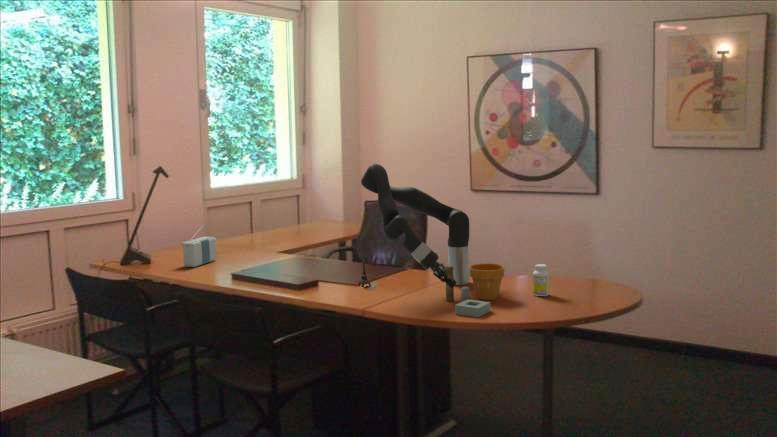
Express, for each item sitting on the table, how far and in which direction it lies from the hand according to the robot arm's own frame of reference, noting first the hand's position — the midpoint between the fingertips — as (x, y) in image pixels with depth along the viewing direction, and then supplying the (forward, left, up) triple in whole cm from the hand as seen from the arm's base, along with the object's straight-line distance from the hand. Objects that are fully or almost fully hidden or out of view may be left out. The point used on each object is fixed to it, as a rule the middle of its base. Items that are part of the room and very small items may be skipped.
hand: (454, 285), depth 306 cm
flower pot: (-11, +9, -7) cm, 16 cm away
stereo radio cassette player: (-3, -157, -7) cm, 157 cm away
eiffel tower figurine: (-4, -48, -7) cm, 49 cm away
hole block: (+13, +15, -6) cm, 21 cm away
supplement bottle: (-25, +27, -7) cm, 38 cm away
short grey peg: (+4, +7, -6) cm, 10 cm away
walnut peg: (+1, -2, -6) cm, 7 cm away
